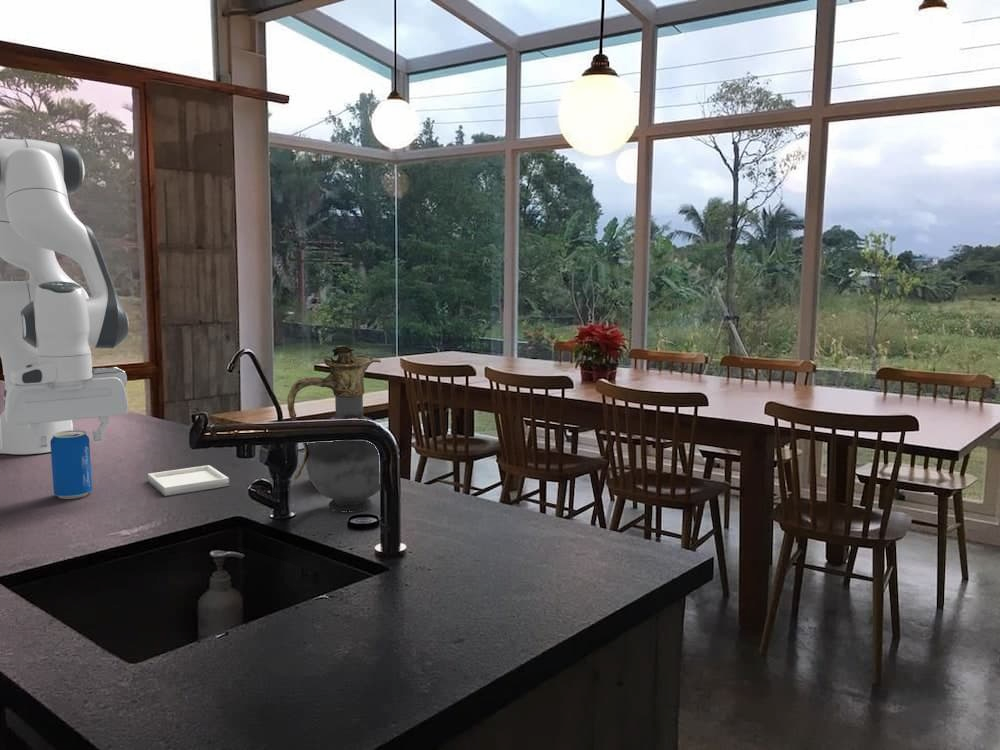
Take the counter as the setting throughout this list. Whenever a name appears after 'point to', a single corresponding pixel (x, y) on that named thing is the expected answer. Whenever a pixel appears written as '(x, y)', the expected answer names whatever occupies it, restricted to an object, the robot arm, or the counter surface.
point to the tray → (188, 480)
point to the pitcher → (342, 464)
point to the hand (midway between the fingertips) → (70, 443)
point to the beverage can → (71, 464)
